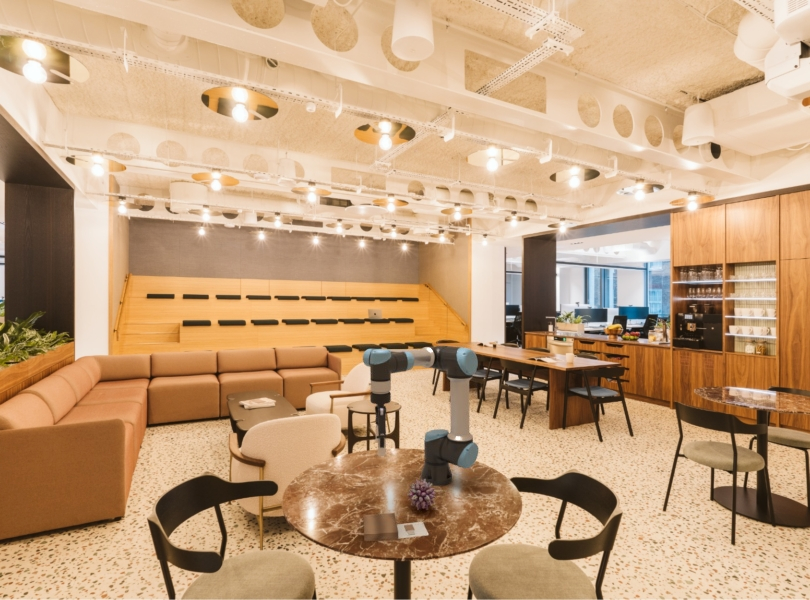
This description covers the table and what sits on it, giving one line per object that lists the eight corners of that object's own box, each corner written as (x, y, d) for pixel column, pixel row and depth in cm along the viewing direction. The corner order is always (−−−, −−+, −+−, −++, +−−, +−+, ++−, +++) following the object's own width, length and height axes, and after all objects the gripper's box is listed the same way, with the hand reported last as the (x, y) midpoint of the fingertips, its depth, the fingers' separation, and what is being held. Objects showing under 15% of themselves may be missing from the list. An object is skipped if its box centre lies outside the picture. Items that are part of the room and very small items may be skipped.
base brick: (394, 520, 159) (394, 512, 159) (398, 540, 146) (398, 532, 146) (363, 522, 158) (363, 514, 157) (364, 542, 145) (364, 534, 145)
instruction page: (422, 522, 158) (422, 521, 158) (428, 535, 149) (428, 534, 149) (391, 525, 155) (391, 524, 155) (396, 539, 147) (396, 538, 147)
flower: (439, 515, 163) (439, 485, 163) (409, 517, 161) (410, 487, 161) (432, 500, 175) (432, 472, 175) (405, 503, 173) (405, 474, 173)
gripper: (368, 384, 163) (368, 437, 164) (371, 400, 139) (371, 462, 139) (387, 384, 164) (387, 436, 164) (394, 399, 140) (393, 461, 140)
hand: (380, 448), depth 152 cm, fingers open, 13 cm apart
